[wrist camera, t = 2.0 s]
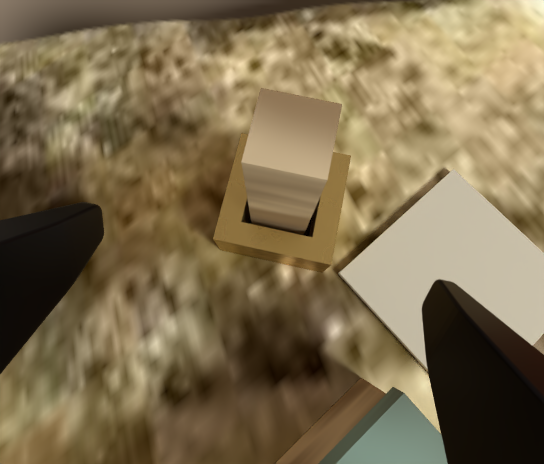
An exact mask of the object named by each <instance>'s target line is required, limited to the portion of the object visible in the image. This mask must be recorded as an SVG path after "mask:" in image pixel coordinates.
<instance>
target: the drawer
mask: <svg viewBox="0 0 544 464" xmlns="http://www.w3.org/2000/svg"><path fill="white" fill-rule="evenodd" d="M275 464H448V463H447V459H446V454H445V449H444V444H443V440H442V435H441V434H440V433H439V432H438V431H437V429H436V428H435V427H434V426H433V425H432V424H431V423H430V422H429V420H428V419H427V418H426V417H425V416H424V415H423V414H422V413H421V411H420V410H419V409H418V408H417V407H416V406H415V405H414V404H413V402H412V401H411V400H410V399H409V398H408V397H407V396H406V395H405V393H403V392H401V391H400V390H398V389H396V388H394V387H392V388H391V389H390V390H389V392H388V393H387V394H386V393H384V392H383V391H381V390H380V389H378V388H377V387H375V386H373V385H372V384H370V383H369V382H367V381H366V380H364V379H362V378H360V379H359V380H358V381H357V382H356V383H355V384H354V385H353V386H352V387H351V388H350V389H349V390H348V391H347V392H346V393H345V394H344V395H343V396H342V397H341V398H340V399H339V400H338V401H337V402H336V403H335V404H334V405H333V406H332V407H331V408H330V409H329V410H328V411H327V412H326V413H325V414H324V415H323V416H322V417H321V418H320V419H319V420H318V421H317V422H316V423H315V424H314V425H313V426H312V427H311V428H310V429H309V430H308V431H307V432H306V433H305V434H304V435H303V436H302V437H301V438H300V439H299V440H298V441H297V442H296V443H295V444H294V445H293V446H292V447H291V448H290V449H289V450H288V451H287V452H286V453H285V454H284V455H283V456H282V457H281V458H280V459H279V460H278V461H277V462H276V463H275Z"/></svg>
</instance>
